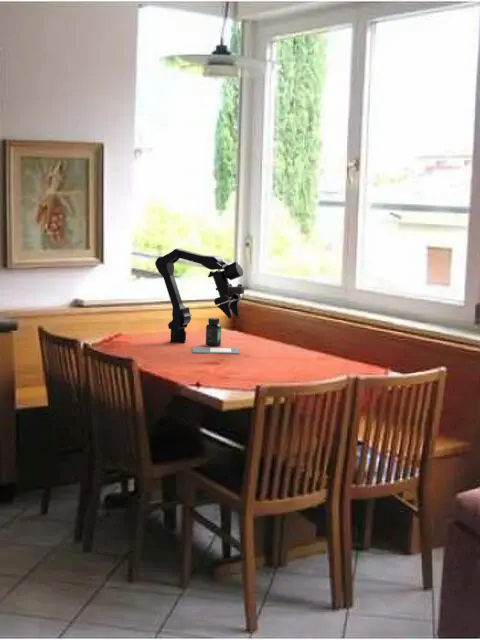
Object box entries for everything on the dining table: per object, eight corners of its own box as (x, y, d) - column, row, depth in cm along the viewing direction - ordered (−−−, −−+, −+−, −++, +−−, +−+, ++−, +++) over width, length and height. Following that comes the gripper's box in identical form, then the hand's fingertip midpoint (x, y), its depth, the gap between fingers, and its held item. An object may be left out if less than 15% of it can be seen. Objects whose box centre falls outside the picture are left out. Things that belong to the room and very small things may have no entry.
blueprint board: (192, 353, 401) (192, 351, 401) (192, 347, 413) (192, 346, 413) (239, 354, 402) (239, 353, 401) (238, 348, 414) (238, 347, 414)
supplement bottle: (222, 346, 420) (223, 319, 418) (207, 346, 418) (208, 319, 416) (218, 343, 426) (219, 317, 424) (203, 344, 424) (204, 317, 422)
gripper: (231, 278, 403) (243, 313, 402) (245, 276, 421) (257, 309, 420) (208, 287, 407) (220, 321, 406) (223, 285, 424) (234, 317, 424)
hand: (234, 317), depth 414 cm, fingers open, 9 cm apart
